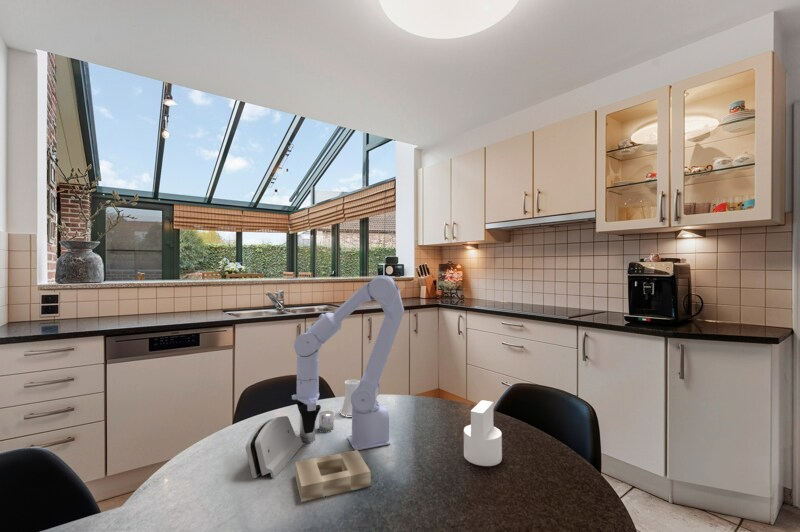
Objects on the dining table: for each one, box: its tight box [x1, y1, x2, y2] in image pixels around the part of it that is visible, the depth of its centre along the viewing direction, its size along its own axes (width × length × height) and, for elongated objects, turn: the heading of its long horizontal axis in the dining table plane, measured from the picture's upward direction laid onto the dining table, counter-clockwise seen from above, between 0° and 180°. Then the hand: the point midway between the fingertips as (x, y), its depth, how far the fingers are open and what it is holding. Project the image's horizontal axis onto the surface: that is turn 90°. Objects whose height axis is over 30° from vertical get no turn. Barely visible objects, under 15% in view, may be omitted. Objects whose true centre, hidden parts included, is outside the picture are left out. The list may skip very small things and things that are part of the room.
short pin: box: [318, 410, 334, 433], centre depth 103 cm, size 4×4×4 cm
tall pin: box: [299, 404, 316, 444], centre depth 96 cm, size 4×4×9 cm
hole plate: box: [294, 450, 372, 503], centre depth 77 cm, size 14×10×3 cm
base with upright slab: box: [463, 399, 503, 467], centre depth 88 cm, size 9×9×12 cm
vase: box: [339, 379, 361, 416], centre depth 115 cm, size 8×8×10 cm
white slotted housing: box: [245, 415, 304, 480], centre depth 86 cm, size 17×5×10 cm, turn 173°
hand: (307, 429), depth 96 cm, fingers closed on tall pin, 4 cm apart
